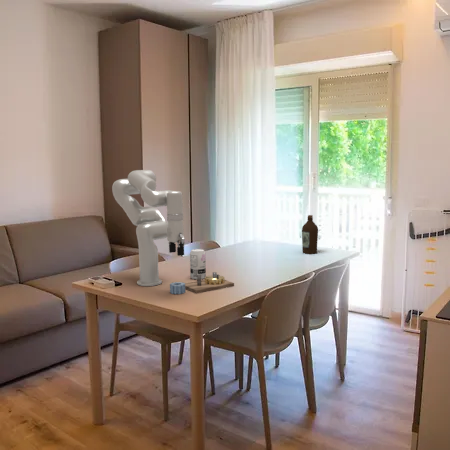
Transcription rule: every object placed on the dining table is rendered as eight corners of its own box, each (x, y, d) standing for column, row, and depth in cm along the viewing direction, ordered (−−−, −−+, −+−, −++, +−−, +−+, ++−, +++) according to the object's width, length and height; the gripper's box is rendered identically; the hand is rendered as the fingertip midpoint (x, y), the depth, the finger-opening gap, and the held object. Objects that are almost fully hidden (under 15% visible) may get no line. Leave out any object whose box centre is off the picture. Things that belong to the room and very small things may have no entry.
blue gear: (167, 291, 233) (167, 283, 233) (180, 289, 237) (180, 281, 237) (174, 295, 227) (174, 286, 227) (188, 292, 231) (187, 284, 231)
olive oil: (310, 250, 330) (310, 214, 326) (321, 253, 321) (321, 215, 317) (298, 252, 324) (298, 215, 321) (309, 255, 315) (309, 216, 312)
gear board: (181, 287, 242) (181, 274, 241) (218, 280, 254) (218, 268, 253) (195, 293, 230) (195, 280, 229) (234, 286, 242) (234, 273, 241)
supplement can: (190, 276, 263) (189, 248, 261) (205, 275, 264) (205, 248, 262) (190, 280, 255) (189, 251, 253) (206, 279, 256) (205, 251, 253)
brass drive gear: (201, 281, 245) (201, 272, 244) (217, 279, 251) (217, 269, 250) (211, 286, 237) (211, 276, 236) (228, 282, 242) (228, 273, 242)
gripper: (160, 216, 233) (162, 252, 235) (175, 219, 218) (176, 257, 220) (175, 215, 236) (176, 250, 238) (190, 218, 221) (191, 255, 223)
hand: (176, 253), depth 229 cm, fingers open, 9 cm apart
